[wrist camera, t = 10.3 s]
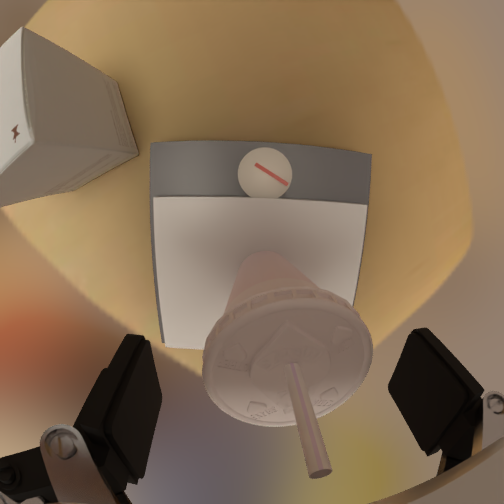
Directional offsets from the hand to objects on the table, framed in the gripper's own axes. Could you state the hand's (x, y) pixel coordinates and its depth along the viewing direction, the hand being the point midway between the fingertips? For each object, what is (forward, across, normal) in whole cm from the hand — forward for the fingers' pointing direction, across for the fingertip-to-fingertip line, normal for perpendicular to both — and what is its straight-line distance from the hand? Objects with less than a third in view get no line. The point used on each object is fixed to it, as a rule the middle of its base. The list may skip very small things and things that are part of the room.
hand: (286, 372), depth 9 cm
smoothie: (+10, 0, +1) cm, 10 cm away
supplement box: (+14, +14, -10) cm, 22 cm away
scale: (+14, 0, -1) cm, 14 cm away
